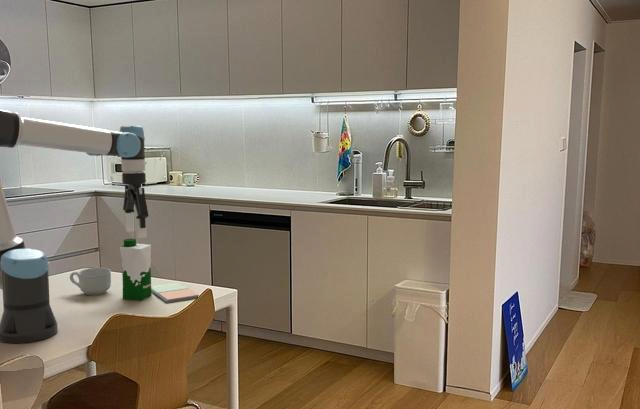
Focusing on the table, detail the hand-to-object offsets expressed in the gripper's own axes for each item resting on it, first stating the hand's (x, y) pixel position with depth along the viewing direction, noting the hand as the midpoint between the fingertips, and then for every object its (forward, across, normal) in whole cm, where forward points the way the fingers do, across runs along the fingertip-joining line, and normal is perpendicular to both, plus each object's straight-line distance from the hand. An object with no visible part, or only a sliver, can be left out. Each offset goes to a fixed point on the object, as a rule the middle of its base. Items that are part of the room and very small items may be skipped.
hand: (136, 234), depth 205 cm
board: (+22, -2, -12) cm, 25 cm away
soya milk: (+22, 0, 0) cm, 22 cm away
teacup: (+22, +14, +12) cm, 29 cm away
